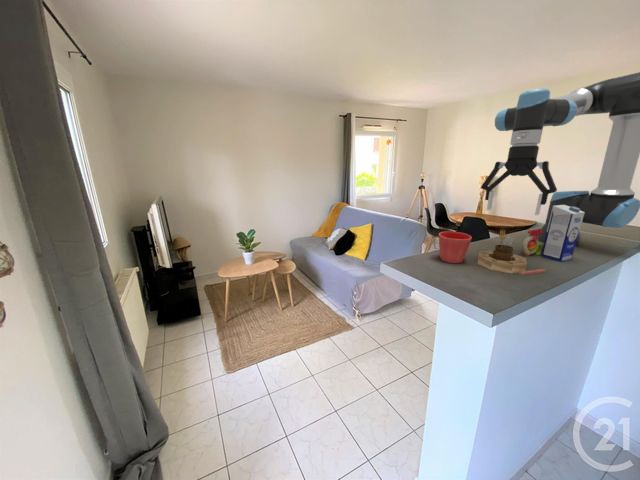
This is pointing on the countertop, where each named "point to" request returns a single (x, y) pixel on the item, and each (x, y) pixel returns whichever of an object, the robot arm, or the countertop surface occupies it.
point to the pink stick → (532, 272)
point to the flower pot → (453, 246)
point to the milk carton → (562, 232)
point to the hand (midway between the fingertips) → (511, 212)
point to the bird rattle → (532, 243)
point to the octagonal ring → (502, 263)
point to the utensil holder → (503, 250)
